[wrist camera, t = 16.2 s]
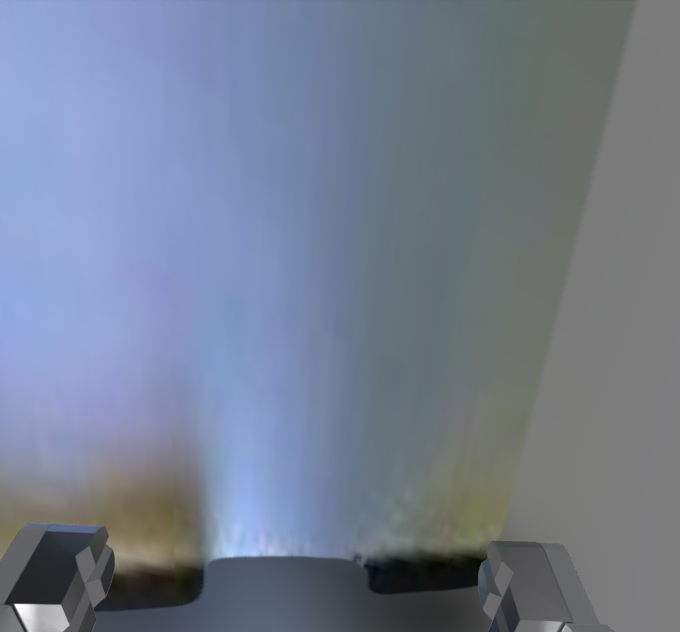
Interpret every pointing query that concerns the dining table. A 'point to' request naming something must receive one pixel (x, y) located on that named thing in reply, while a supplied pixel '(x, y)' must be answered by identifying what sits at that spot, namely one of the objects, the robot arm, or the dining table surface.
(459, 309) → the dining table surface
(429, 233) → the dining table surface
